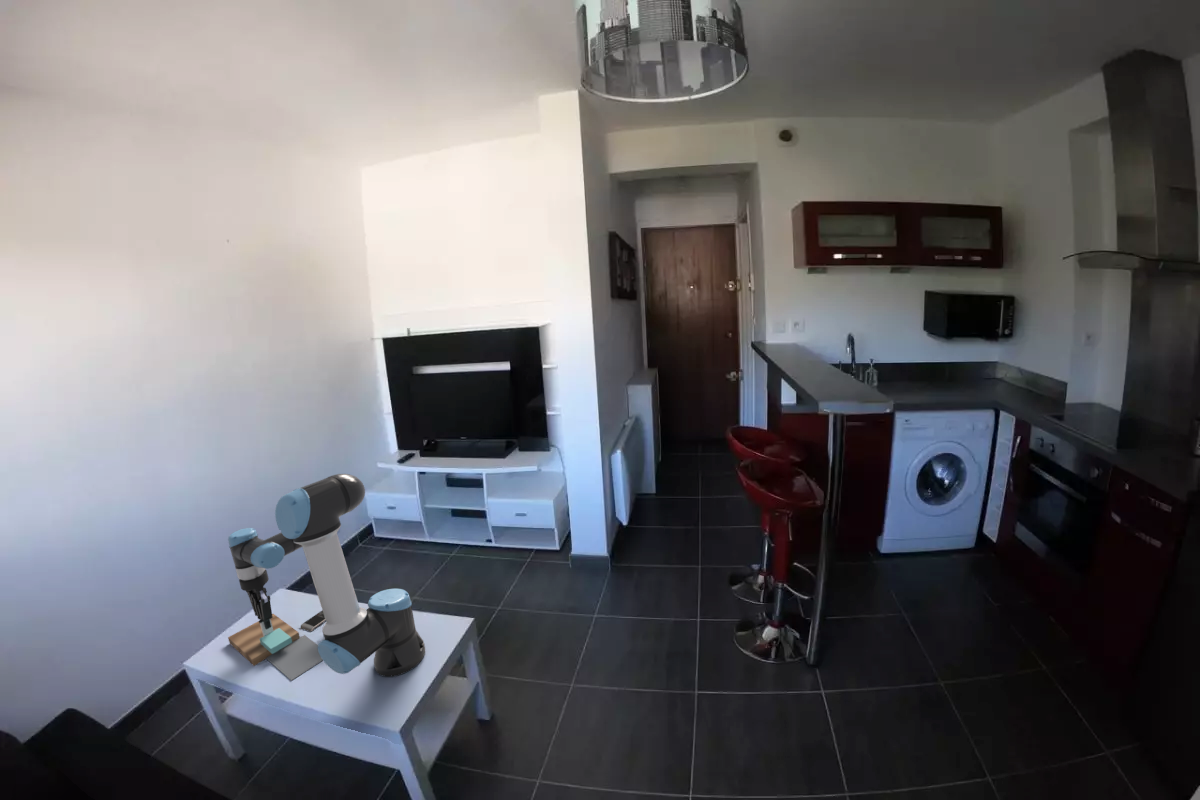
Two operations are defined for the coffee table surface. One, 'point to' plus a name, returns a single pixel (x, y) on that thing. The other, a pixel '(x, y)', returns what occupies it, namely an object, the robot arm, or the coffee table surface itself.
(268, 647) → the teal rectangular block
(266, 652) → the wooden board
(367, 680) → the coffee table surface
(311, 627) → the cell phone
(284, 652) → the mat
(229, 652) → the coffee table surface
